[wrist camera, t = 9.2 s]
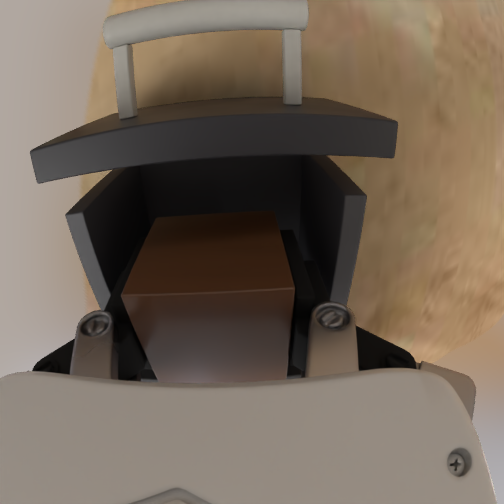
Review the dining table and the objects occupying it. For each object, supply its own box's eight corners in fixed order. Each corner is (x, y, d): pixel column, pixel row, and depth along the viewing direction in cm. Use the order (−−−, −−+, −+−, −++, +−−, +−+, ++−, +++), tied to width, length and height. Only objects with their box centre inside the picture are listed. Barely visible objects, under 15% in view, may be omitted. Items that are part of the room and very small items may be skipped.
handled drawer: (107, 41, 11) (16, 30, 5) (325, 24, 11) (399, -10, 5) (155, 303, 21) (133, 395, 14) (311, 296, 21) (337, 387, 15)
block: (155, 217, 11) (119, 295, 7) (274, 209, 11) (295, 288, 7) (175, 304, 13) (160, 387, 10) (273, 300, 13) (286, 384, 10)
